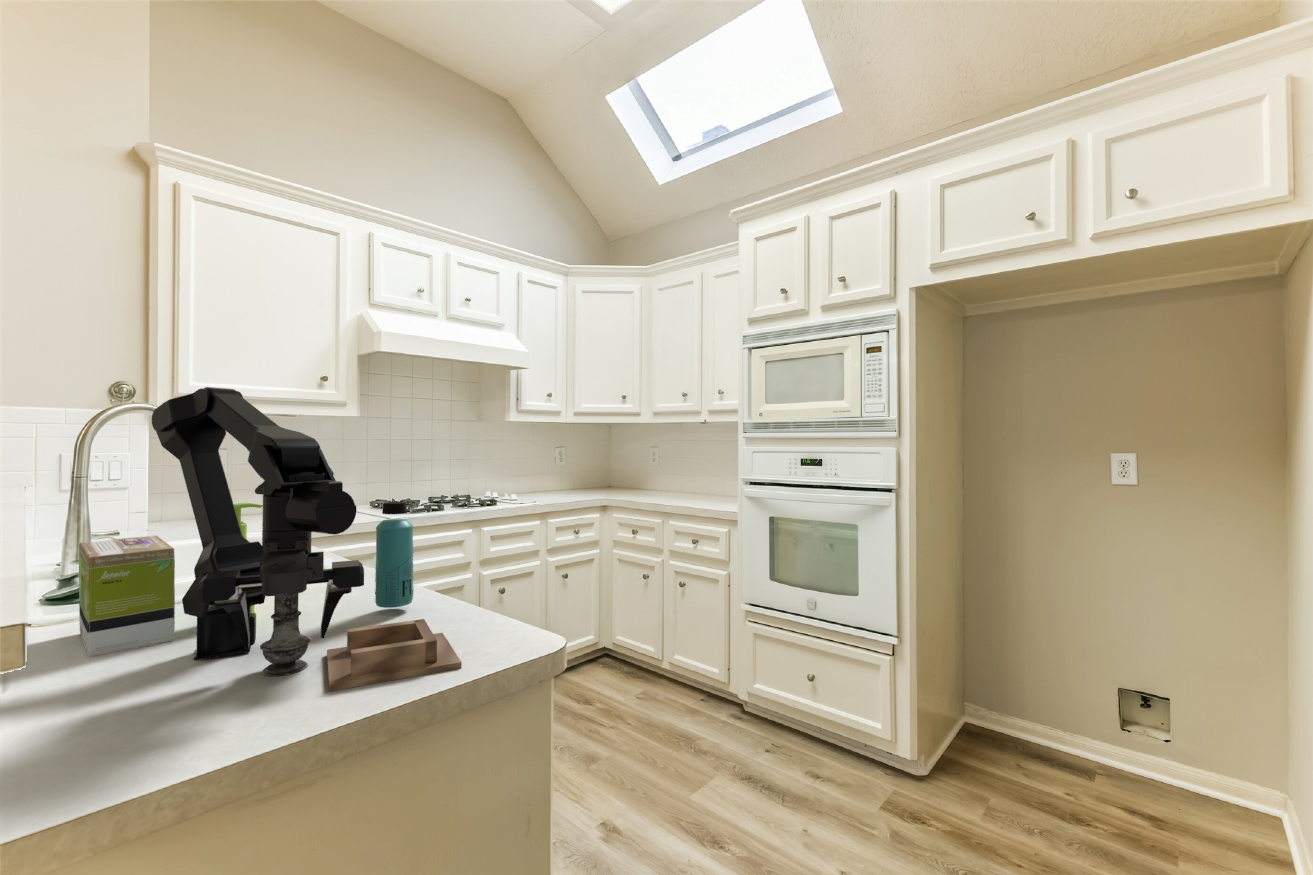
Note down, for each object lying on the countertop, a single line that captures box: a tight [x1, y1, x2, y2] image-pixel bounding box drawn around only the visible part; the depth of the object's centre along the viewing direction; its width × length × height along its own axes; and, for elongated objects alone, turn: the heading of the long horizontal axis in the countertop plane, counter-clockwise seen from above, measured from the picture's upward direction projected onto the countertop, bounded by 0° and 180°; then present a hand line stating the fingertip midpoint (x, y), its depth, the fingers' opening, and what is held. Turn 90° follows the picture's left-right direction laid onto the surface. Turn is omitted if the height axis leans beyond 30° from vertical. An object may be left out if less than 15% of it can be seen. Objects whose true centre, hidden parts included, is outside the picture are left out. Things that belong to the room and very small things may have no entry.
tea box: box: [78, 534, 176, 658], centre depth 92 cm, size 15×10×15 cm, turn 48°
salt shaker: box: [259, 593, 311, 677], centre depth 81 cm, size 6×6×12 cm
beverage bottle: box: [374, 500, 415, 609], centre depth 108 cm, size 6×7×20 cm
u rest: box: [326, 618, 463, 692], centre depth 84 cm, size 16×14×4 cm
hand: (285, 642), depth 81 cm, fingers closed on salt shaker, 8 cm apart
